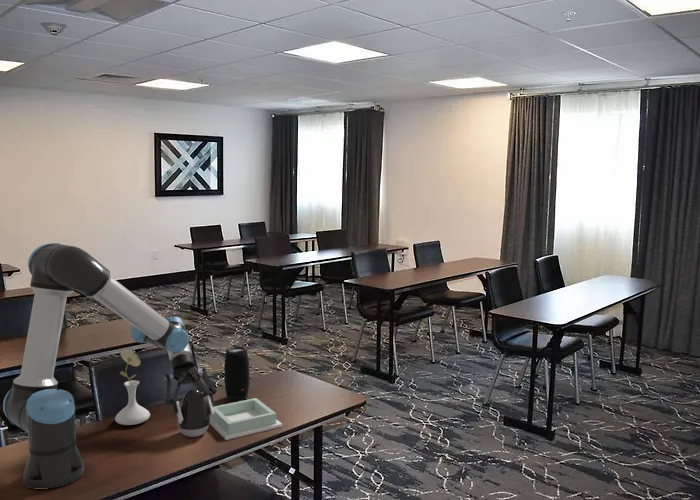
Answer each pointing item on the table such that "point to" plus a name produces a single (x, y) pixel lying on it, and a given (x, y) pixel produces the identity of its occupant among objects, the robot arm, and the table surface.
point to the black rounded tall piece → (194, 413)
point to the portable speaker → (236, 373)
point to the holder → (243, 418)
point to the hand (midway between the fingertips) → (197, 418)
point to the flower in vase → (131, 395)
